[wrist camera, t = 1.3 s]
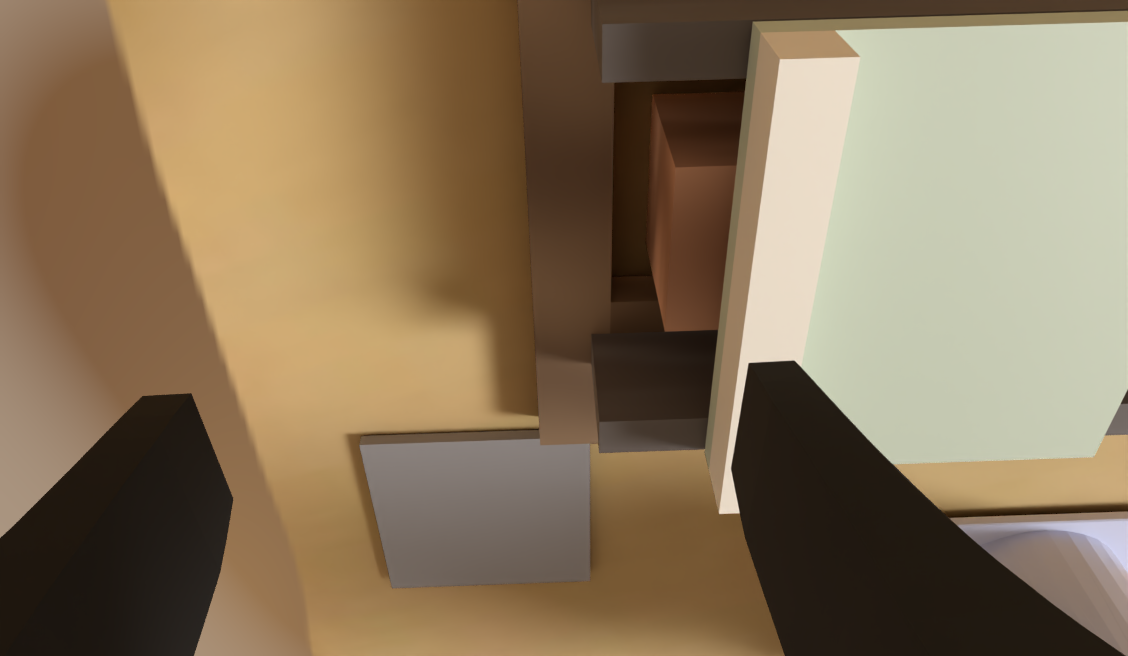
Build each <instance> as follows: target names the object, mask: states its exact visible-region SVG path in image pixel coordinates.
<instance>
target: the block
mask: <svg viewBox="0 0 1128 656" xmlns="http://www.w3.org/2000/svg"><path fill="white" fill-rule="evenodd" d="M744 95H745V92H718V93H684V94H652V114H651V136H650V159H649V181H648V204H647V227H646V246H647V251H648V255H649V260H650V265H651V269H652V274H653V279H654V283H655V288H656V292H657V297H658V302H659V306H660V311H661V316H662V320H663V325H664V330H665V332H667V331H696V330H718V328H719V319H720V310H721V301H722V292H723V283H724V274H725V265H726V256H727V247H728V238H729V230H730V221H731V212H732V203H733V194H734V185H735V176H736V167H737V158H738V149H739V140H740V131H741V122H742V113H743V104H744Z"/></svg>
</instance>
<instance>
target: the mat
mask: <svg viewBox="0 0 1128 656" xmlns="http://www.w3.org/2000/svg"><path fill="white" fill-rule="evenodd" d="M359 446H360V451H361V455H362V459H363V464H364V468H365V472H366V477H367V481H368V486H369V490H370V494H371V499H372V503H373V507H374V512H375V516H376V520H377V525H378V529H379V533H380V538H381V542H382V547H383V551H384V555H385V560H386V564H387V568H388V573H389V577H390V581H391V586H392V588H415V587H442V586H469V585H496V584H523V583H550V582H578V581H590V444H567V445H540V432H539V430H517V431H488V432H459V433H430V434H401V435H373V436H361V440H360V444H359Z"/></svg>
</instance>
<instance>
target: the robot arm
mask: <svg viewBox="0 0 1128 656" xmlns="http://www.w3.org/2000/svg"><path fill="white" fill-rule="evenodd" d="M731 472H732V477H733V482H734V487H735V492H736V497H737V502H738V507H739V512H740V516H741V521H742V525H743V530H744V534H745V539H746V542H747V545H748V548H749V551H750V554H751V557H752V560H753V563H754V566H755V569H756V572H757V575H758V578H759V581H760V584H761V587H762V590H763V593H764V596H765V599H766V602H767V605H768V607H769V610H770V613H771V616H772V619H773V622H774V625H775V628H776V631H777V634H778V637H779V640H780V643H781V645H782V648H783V651H784V654H785V656H1128V511H1125V512H1097V513H1069V514H1042V515H1014V516H986V517H959V518H948V517H947V516H946V515H945V514H944V513H943V512H942V511H941V510H940V509H938V508H937V507H936V506H935V505H934V504H933V503H932V502H931V501H930V500H929V499H928V498H927V497H926V496H925V495H924V494H923V493H922V492H920V491H919V490H918V489H917V488H916V487H915V486H914V485H913V484H912V483H911V482H910V481H909V480H908V479H907V478H906V477H905V476H904V475H903V474H902V473H901V472H900V471H899V470H898V469H897V468H896V467H895V466H894V465H893V464H892V463H891V462H890V461H889V460H888V459H887V458H886V457H885V456H884V455H883V454H882V453H881V452H880V451H879V450H878V449H877V448H876V447H875V446H874V445H873V444H872V443H871V442H870V441H869V440H868V439H867V438H866V436H865V435H864V434H863V433H862V432H861V431H860V430H859V429H858V428H857V427H856V426H855V425H854V424H853V423H852V422H851V421H850V419H849V418H848V417H847V416H846V415H845V414H844V413H843V412H842V411H841V410H840V409H839V408H838V407H837V406H836V404H835V403H834V402H833V401H832V400H831V399H830V398H829V397H828V396H827V395H826V394H825V392H824V391H823V390H822V389H821V388H820V387H819V386H818V385H817V384H816V383H815V382H814V380H813V379H812V378H811V377H810V376H809V375H808V374H807V373H806V372H805V371H804V370H803V369H802V368H801V366H800V365H799V364H797V363H796V362H795V361H794V360H792V361H774V362H755V363H748V369H747V375H746V381H745V387H744V393H743V399H742V405H741V411H740V417H739V423H738V429H737V435H736V441H735V447H734V453H733V459H732V465H731ZM232 503H233V497H232V495H231V492H230V489H229V487H228V485H227V482H226V479H225V477H224V474H223V472H222V469H221V467H220V464H219V462H218V460H217V457H216V454H215V452H214V449H213V447H212V444H211V442H210V439H209V437H208V434H207V432H206V429H205V427H204V424H203V422H202V419H201V417H200V414H199V412H198V409H197V407H196V404H195V402H194V399H193V397H192V394H191V393H190V394H173V395H154V396H142V397H141V398H140V399H139V400H138V401H137V402H136V403H135V404H134V405H133V406H132V407H131V408H130V409H129V410H128V411H127V412H126V413H125V414H124V415H123V416H122V417H121V418H120V419H119V420H118V421H117V422H116V423H115V424H114V425H113V426H112V427H111V428H110V429H109V430H108V431H107V432H106V433H105V434H104V435H103V436H102V437H101V438H100V439H99V440H98V441H97V443H96V444H95V445H94V446H93V447H92V448H91V449H90V450H89V451H88V452H87V453H86V454H85V455H84V456H83V457H82V458H81V459H80V460H79V461H78V462H77V463H76V464H75V465H74V466H73V467H72V468H71V469H70V470H69V471H68V472H67V473H66V474H65V475H64V476H63V477H62V478H61V479H60V480H59V481H58V482H57V483H56V484H55V485H54V486H53V487H52V488H51V489H50V490H49V491H48V492H47V493H46V494H45V495H44V496H43V497H42V498H41V499H40V500H39V501H38V502H37V503H36V504H35V505H34V506H33V507H32V508H31V509H30V510H29V511H28V512H27V513H26V514H25V515H24V516H23V517H22V518H21V519H20V520H19V521H18V522H17V523H16V524H15V525H14V526H13V527H12V528H11V529H10V530H9V531H7V532H6V534H4V535H3V536H2V537H1V538H0V656H194V653H195V650H196V647H197V644H198V641H199V638H200V635H201V632H202V629H203V626H204V622H205V619H206V616H207V613H208V610H209V606H210V603H211V600H212V597H213V593H214V591H215V587H216V584H217V581H218V577H219V574H220V570H221V565H222V560H223V554H224V549H225V545H226V540H227V533H228V527H229V521H230V515H231V509H232Z"/></svg>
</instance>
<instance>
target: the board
mask: <svg viewBox="0 0 1128 656" xmlns="http://www.w3.org/2000/svg"><path fill="white" fill-rule="evenodd" d="M517 2H518V21H519V41H520V60H521V80H522V100H523V119H524V139H525V158H526V178H527V197H528V217H529V237H530V256H531V276H532V295H533V315H534V334H535V354H536V373H537V393H538V413H539V432H540V445H567V444H596V443H598V444H599V453H613V452H642V451H670V450H699V449H705V444H706V435H707V426H708V417H709V408H710V399H711V390H712V381H713V373H714V364H715V355H716V346H717V337H718V330H696V331H667V332H665V330H664V325H663V320H662V316H661V311H660V306H659V302H658V297H657V292H656V288H655V283H654V279H653V276H625V277H611V256H612V194H613V133H614V82H648V81H681V80H715V79H746V78H747V69H748V60H749V51H750V42H751V33H752V24H753V22H758V21H792V20H826V19H861V18H895V17H930V16H964V15H998V14H1033V13H1067V12H1102V11H1128V0H517ZM1127 434H1128V390H1127V392H1126V394H1125V396H1124V398H1123V400H1122V402H1121V404H1120V406H1119V408H1118V410H1117V412H1116V414H1115V416H1114V418H1113V420H1112V422H1111V424H1110V426H1109V428H1108V430H1107V432H1106V434H1105V435H1127Z"/></svg>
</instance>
